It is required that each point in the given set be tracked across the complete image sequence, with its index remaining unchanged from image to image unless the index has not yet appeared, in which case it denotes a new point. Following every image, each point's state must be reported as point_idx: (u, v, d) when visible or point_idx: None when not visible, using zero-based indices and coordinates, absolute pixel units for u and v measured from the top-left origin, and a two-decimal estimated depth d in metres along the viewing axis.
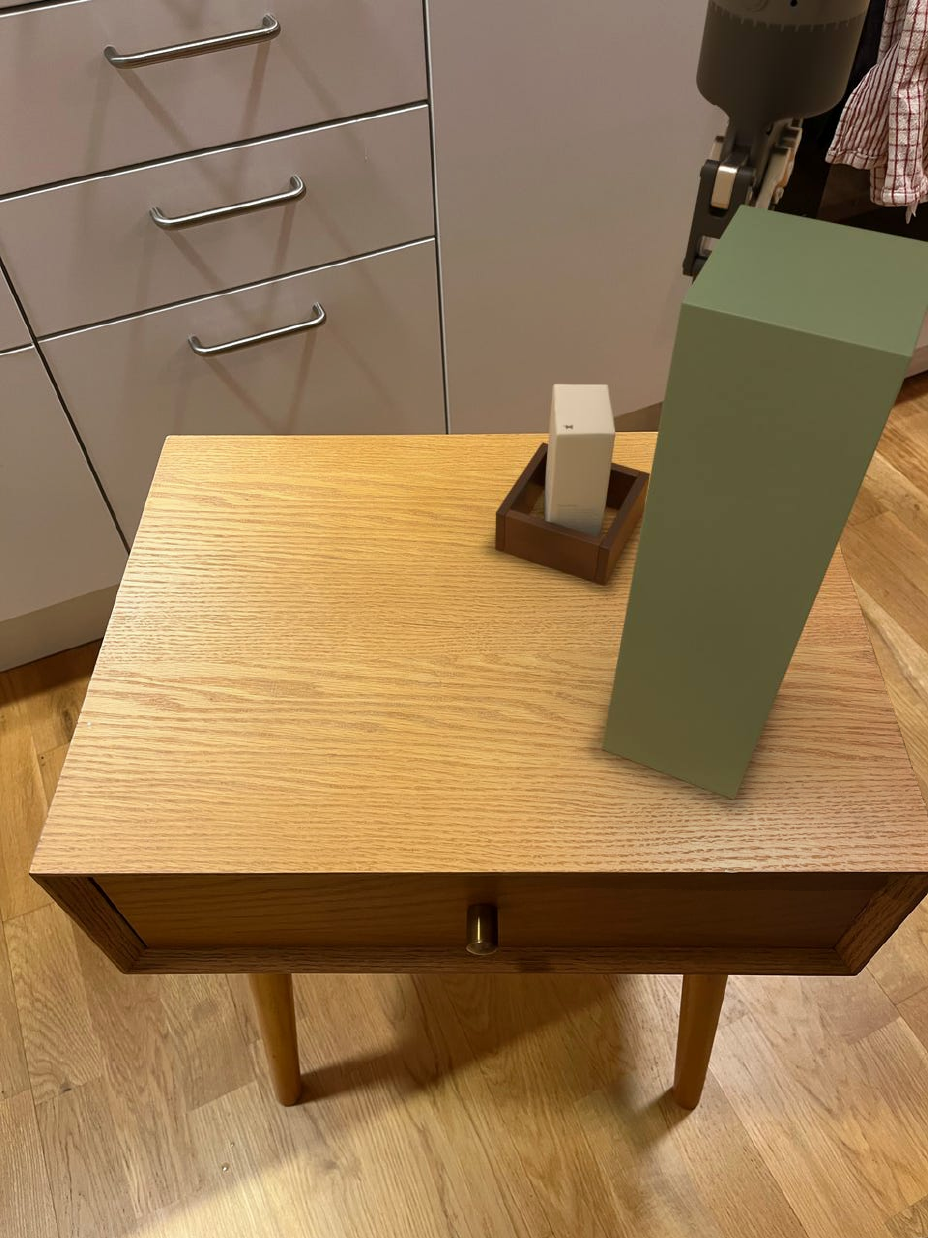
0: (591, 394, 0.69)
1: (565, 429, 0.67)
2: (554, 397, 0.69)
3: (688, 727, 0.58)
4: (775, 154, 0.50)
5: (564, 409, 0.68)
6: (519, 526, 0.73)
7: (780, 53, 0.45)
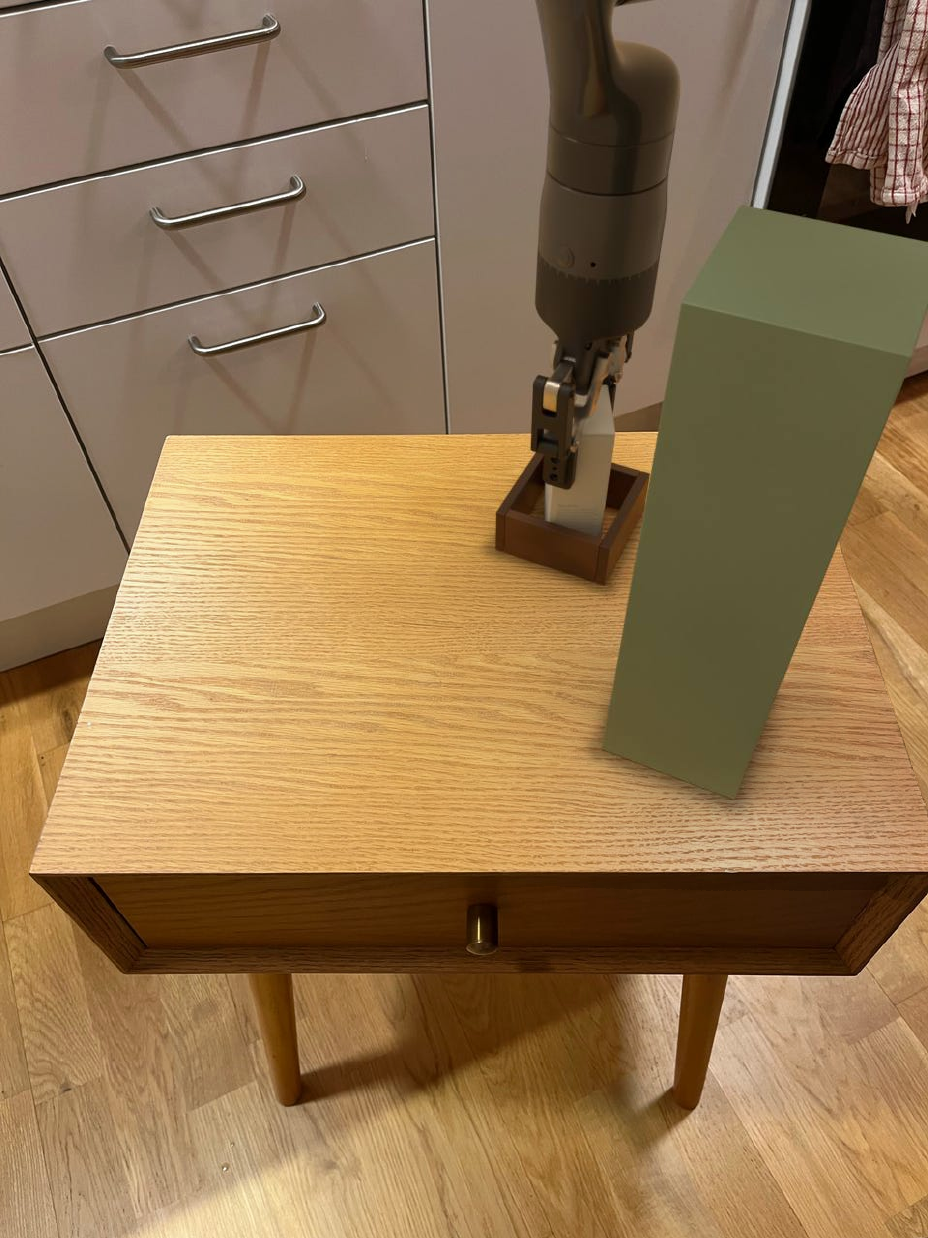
0: None
1: None
2: None
3: (688, 727, 0.58)
4: (599, 358, 0.62)
5: None
6: (519, 526, 0.73)
7: (588, 297, 0.57)
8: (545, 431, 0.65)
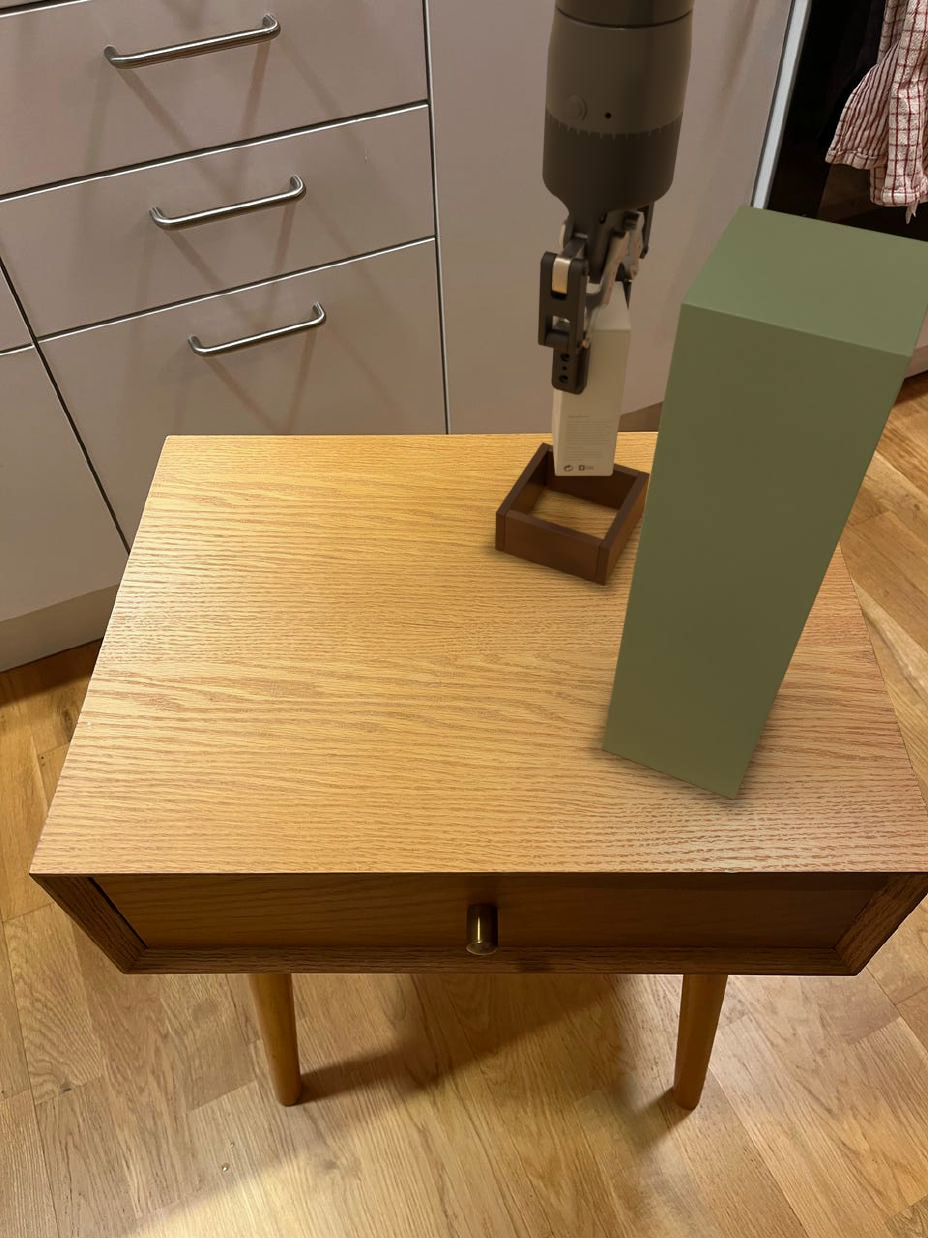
0: None
1: None
2: None
3: (688, 727, 0.58)
4: (614, 238, 0.56)
5: None
6: (519, 526, 0.73)
7: (602, 157, 0.51)
8: (554, 324, 0.59)
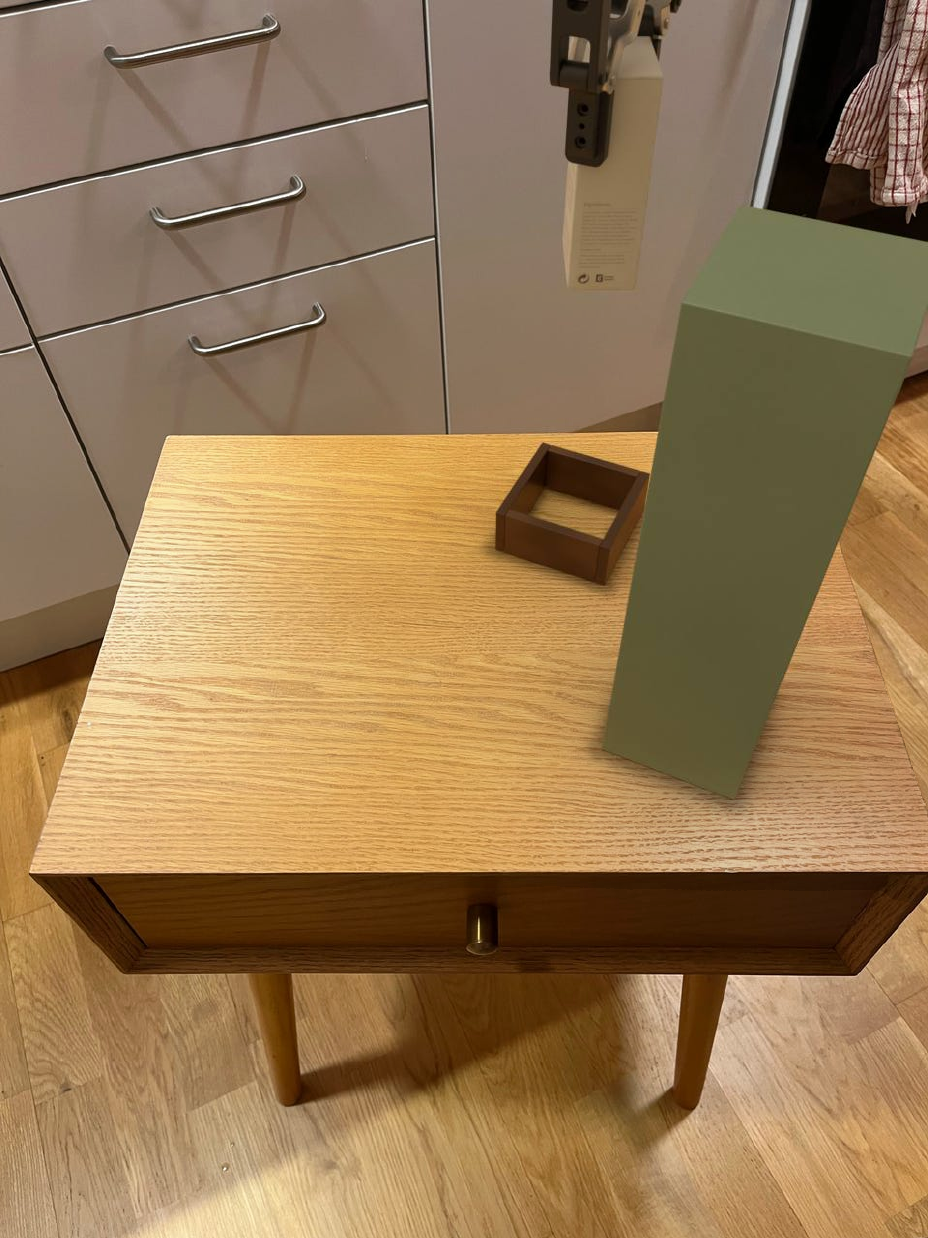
0: None
1: None
2: None
3: (688, 727, 0.58)
4: None
5: None
6: (519, 526, 0.73)
7: None
8: None
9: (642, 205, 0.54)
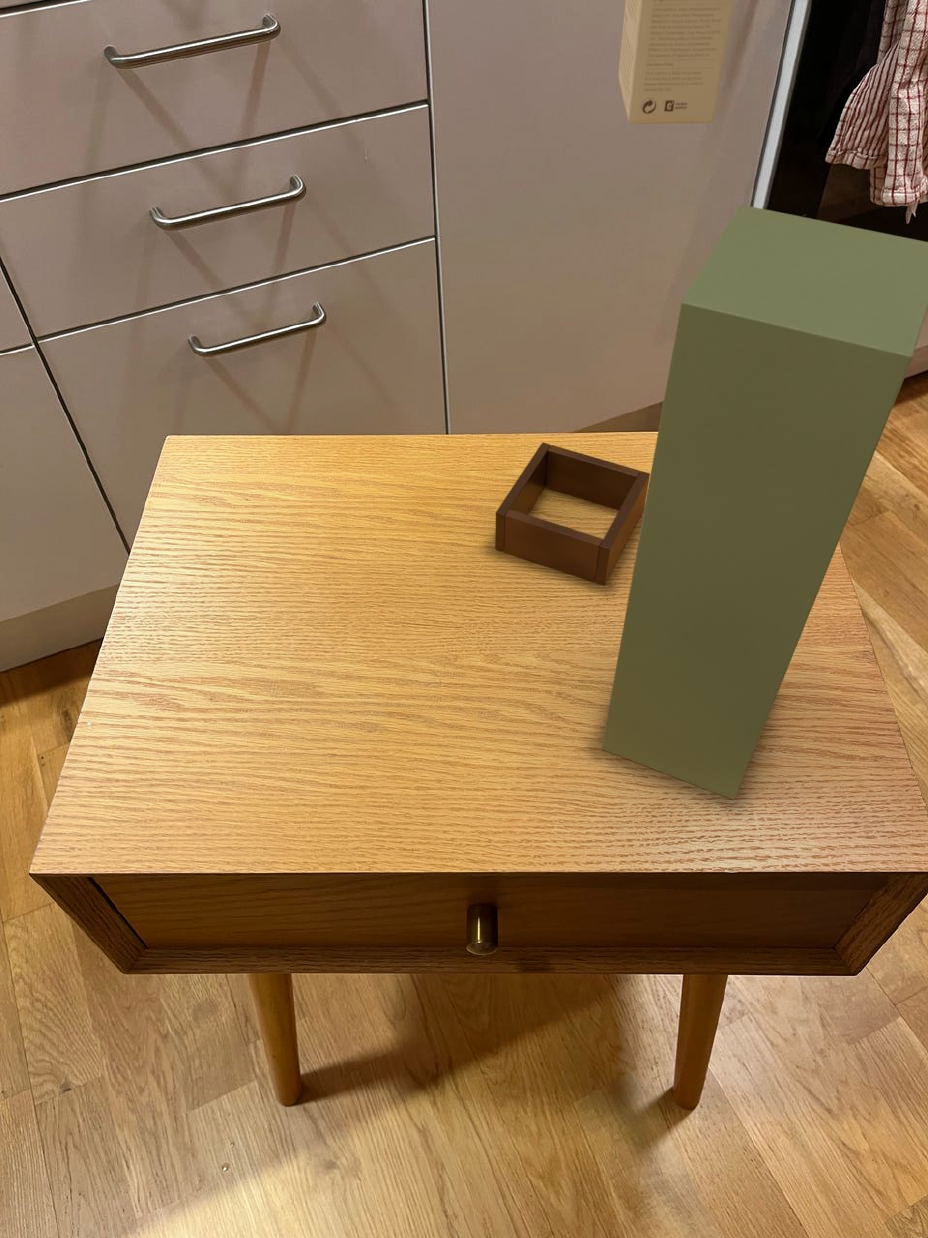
0: None
1: None
2: None
3: (688, 727, 0.58)
4: None
5: None
6: (519, 526, 0.73)
7: None
8: None
9: None
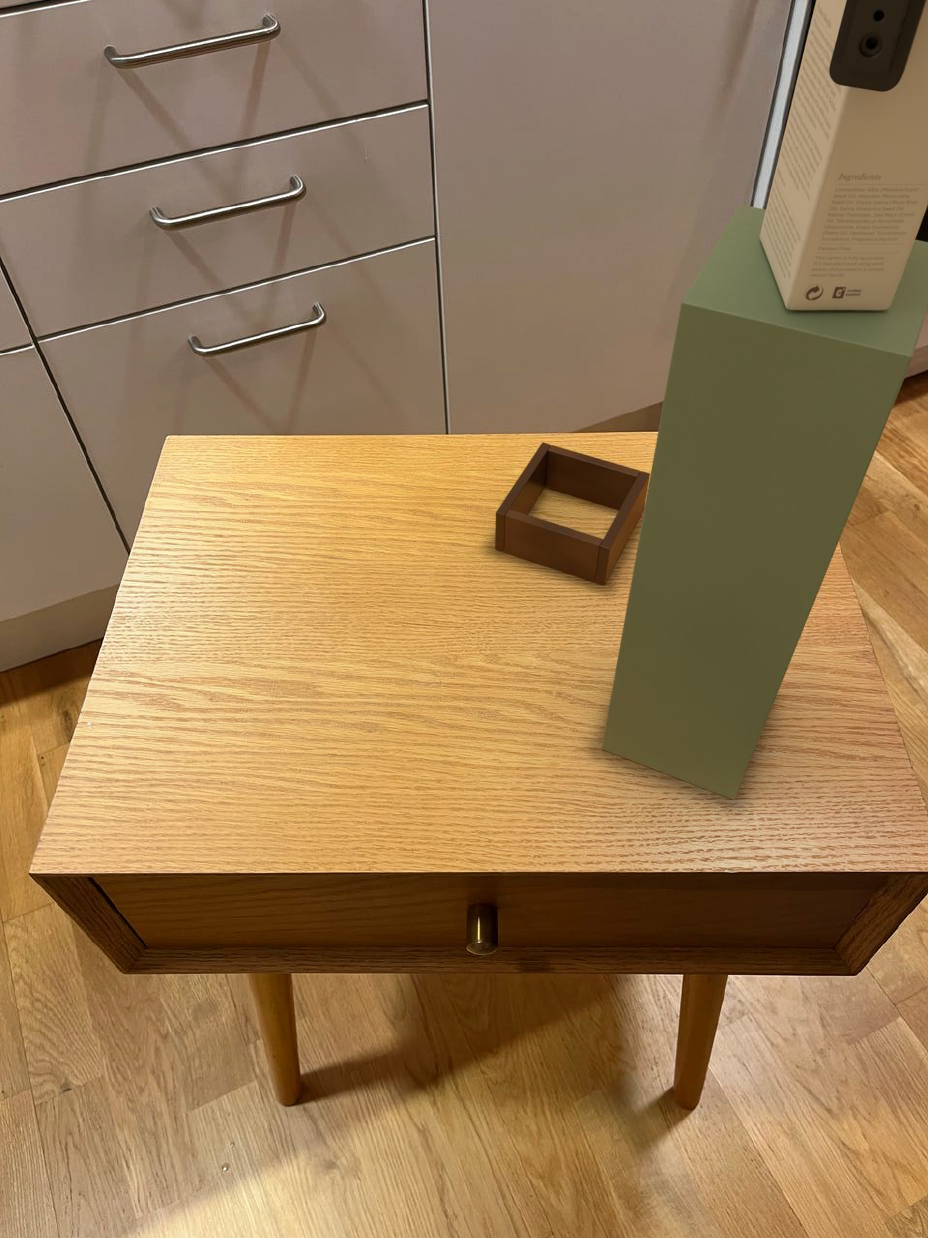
0: None
1: None
2: None
3: (688, 727, 0.58)
4: None
5: None
6: (519, 526, 0.73)
7: None
8: None
9: None
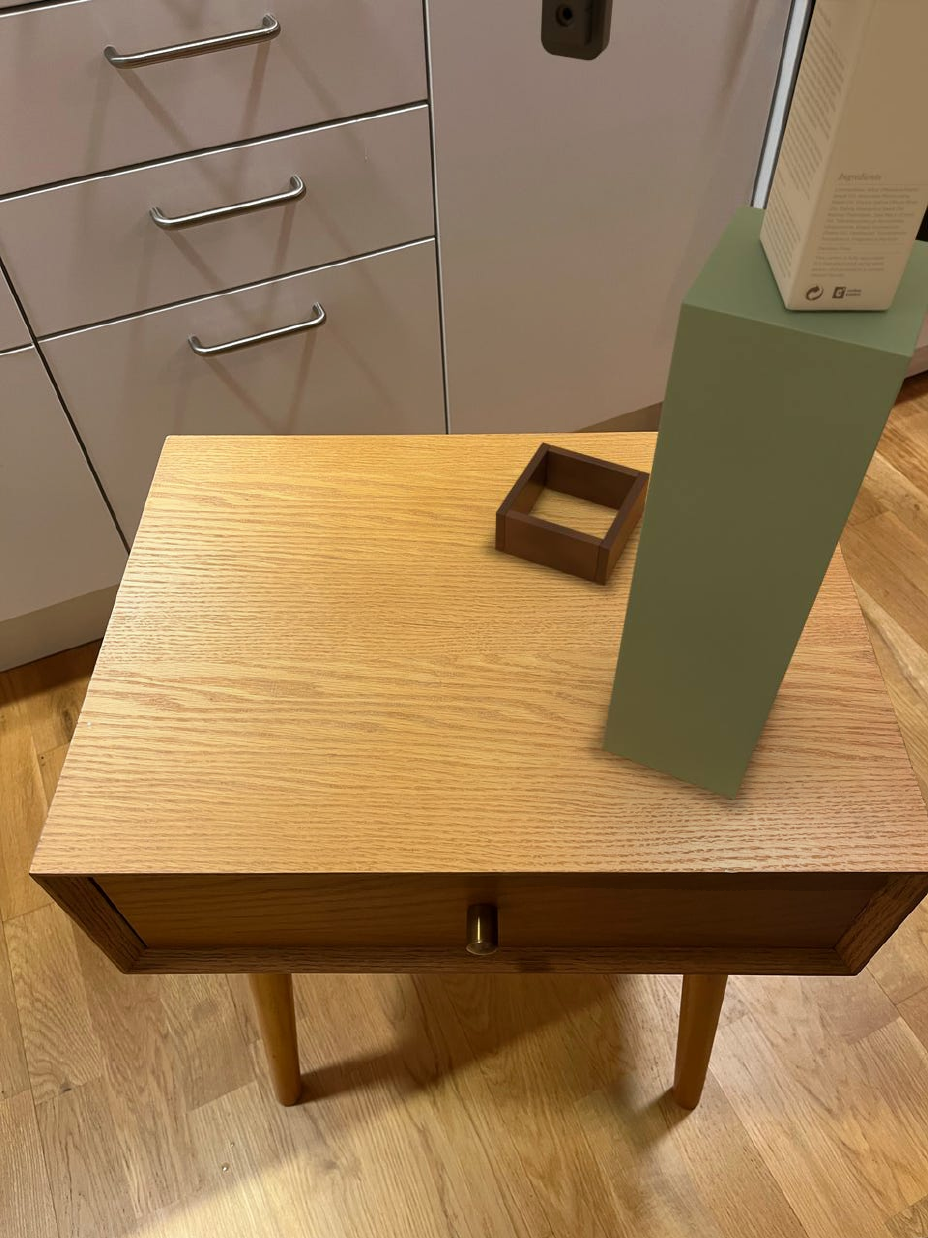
0: None
1: None
2: None
3: (688, 727, 0.58)
4: None
5: None
6: (519, 526, 0.73)
7: None
8: None
9: None
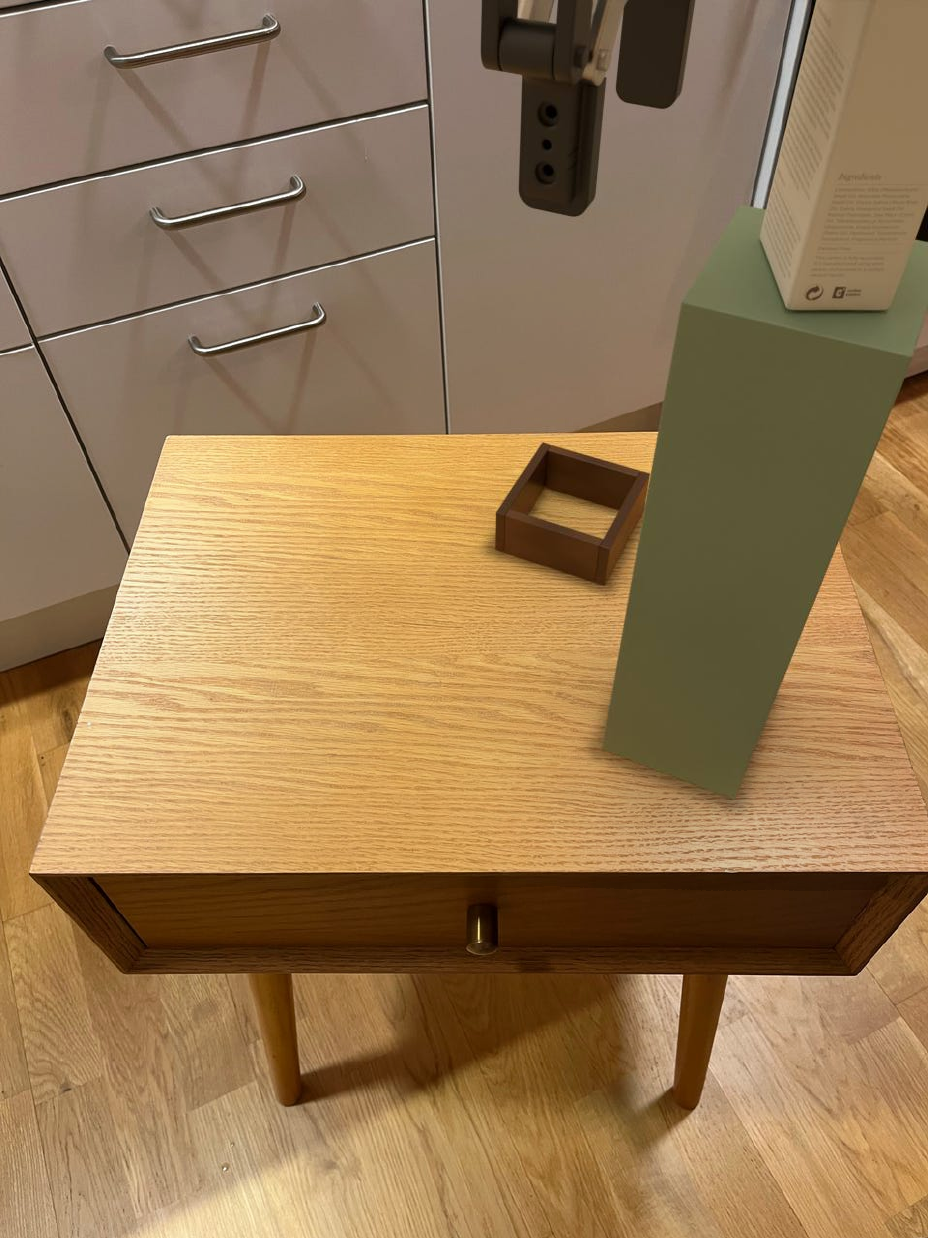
0: None
1: None
2: None
3: (688, 727, 0.58)
4: None
5: None
6: (519, 526, 0.73)
7: None
8: None
9: None
